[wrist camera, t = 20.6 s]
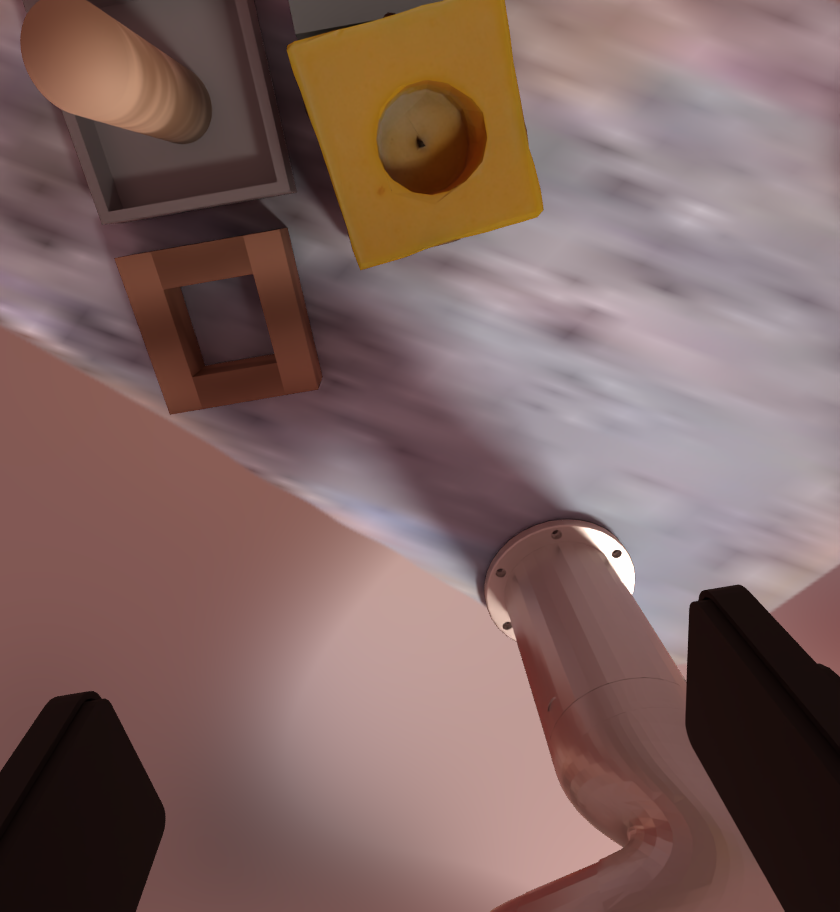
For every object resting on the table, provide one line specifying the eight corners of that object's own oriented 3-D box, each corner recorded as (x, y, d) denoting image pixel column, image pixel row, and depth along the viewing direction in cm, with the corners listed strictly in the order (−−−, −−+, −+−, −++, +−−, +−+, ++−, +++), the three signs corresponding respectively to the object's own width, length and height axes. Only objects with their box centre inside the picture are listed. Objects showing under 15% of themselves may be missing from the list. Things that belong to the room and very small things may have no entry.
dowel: (220, 138, 34) (143, 107, 23) (154, 149, 34) (46, 123, 23) (200, 58, 33) (106, -15, 22) (130, 70, 33) (2, 4, 22)
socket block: (322, 376, 41) (318, 389, 38) (184, 400, 41) (169, 414, 38) (287, 227, 37) (279, 229, 34) (134, 254, 37) (114, 258, 34)
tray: (297, 192, 36) (290, 191, 34) (122, 223, 36) (102, 224, 34) (247, -30, 32) (235, -50, 29) (47, 7, 32) (18, -11, 29)
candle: (304, 83, 34) (275, 39, 25) (470, 28, 34) (502, -38, 24) (359, 258, 38) (351, 275, 29) (508, 212, 38) (547, 215, 28)
